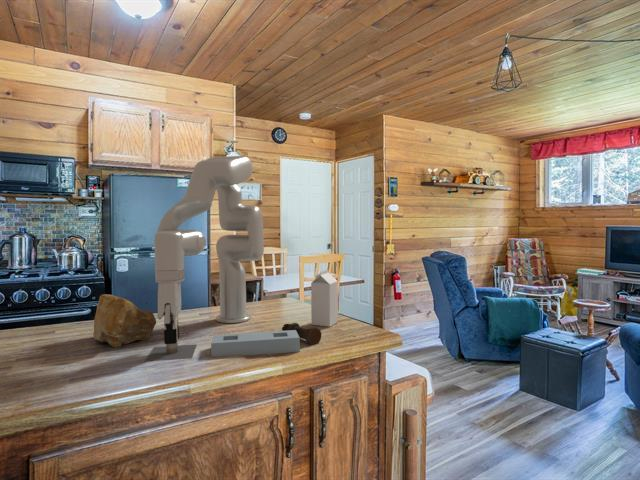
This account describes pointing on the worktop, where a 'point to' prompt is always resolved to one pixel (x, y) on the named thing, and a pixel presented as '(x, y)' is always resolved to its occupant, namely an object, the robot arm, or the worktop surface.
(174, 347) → the peg
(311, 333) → the bolt
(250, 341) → the hole block
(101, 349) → the worktop surface
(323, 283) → the milk carton
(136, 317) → the rough brown rock
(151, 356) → the mat
